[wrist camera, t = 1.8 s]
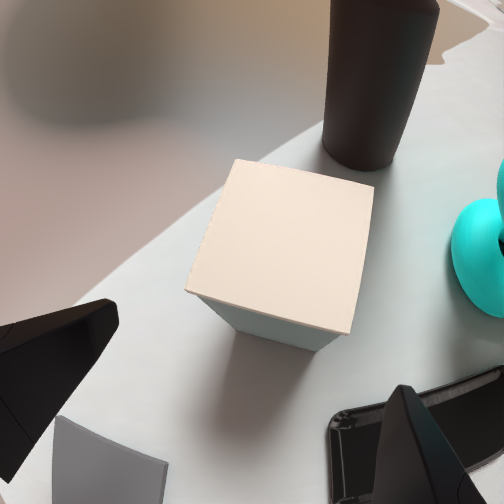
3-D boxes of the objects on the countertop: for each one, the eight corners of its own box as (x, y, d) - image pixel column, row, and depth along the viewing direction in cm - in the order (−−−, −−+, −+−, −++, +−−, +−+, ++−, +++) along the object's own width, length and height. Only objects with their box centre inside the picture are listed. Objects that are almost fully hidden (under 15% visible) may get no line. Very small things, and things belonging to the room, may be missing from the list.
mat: (154, 568, 12) (151, 572, 11) (58, 518, 14) (53, 521, 13) (168, 462, 16) (164, 465, 16) (61, 415, 18) (55, 415, 17)
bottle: (312, 158, 25) (315, -87, 6) (332, 111, 27) (341, -85, 8) (388, 184, 23) (460, -53, 4) (398, 132, 25) (445, -60, 7)
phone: (328, 414, 16) (509, 361, 15) (326, 412, 17) (501, 362, 16) (333, 515, 13) (510, 451, 12) (331, 509, 14) (503, 449, 13)
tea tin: (317, 353, 19) (349, 333, 9) (234, 331, 20) (183, 289, 10) (337, 273, 21) (374, 187, 11) (259, 254, 22) (235, 158, 12)
